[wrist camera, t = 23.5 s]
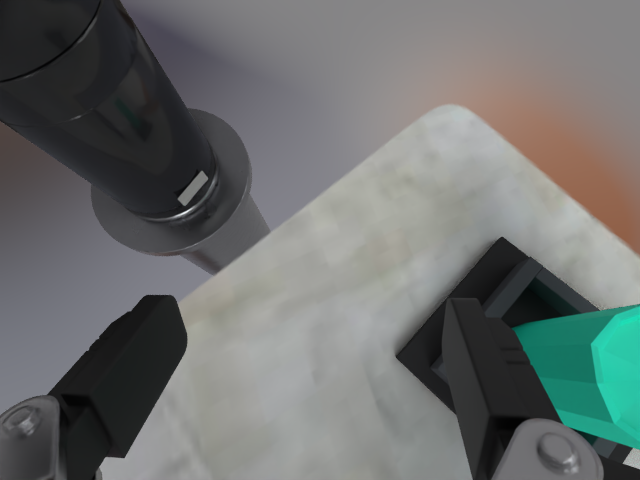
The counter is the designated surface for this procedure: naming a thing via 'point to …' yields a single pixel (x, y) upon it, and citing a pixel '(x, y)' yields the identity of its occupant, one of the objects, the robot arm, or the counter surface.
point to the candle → (590, 370)
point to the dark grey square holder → (511, 307)
